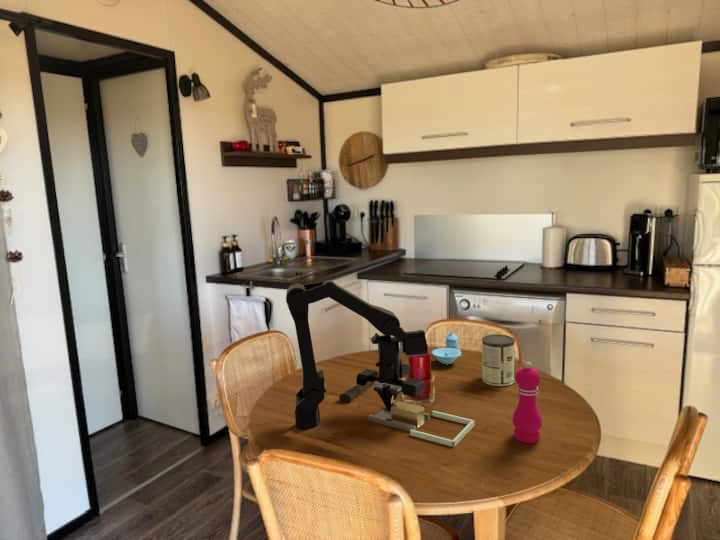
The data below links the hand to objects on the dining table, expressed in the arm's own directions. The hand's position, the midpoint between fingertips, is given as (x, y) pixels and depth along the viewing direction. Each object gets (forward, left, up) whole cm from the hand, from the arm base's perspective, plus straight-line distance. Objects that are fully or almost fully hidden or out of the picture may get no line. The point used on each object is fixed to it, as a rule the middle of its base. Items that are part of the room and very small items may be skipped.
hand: (390, 411), depth 143 cm
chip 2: (0, -8, -2) cm, 8 cm away
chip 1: (0, -4, -2) cm, 4 cm away
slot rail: (0, -3, -3) cm, 4 cm away
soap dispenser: (+52, +6, -3) cm, 52 cm away
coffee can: (+42, -16, -3) cm, 45 cm away
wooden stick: (+11, +18, -3) cm, 21 cm away
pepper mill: (+9, -35, -3) cm, 36 cm away
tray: (0, -16, -3) cm, 16 cm away
